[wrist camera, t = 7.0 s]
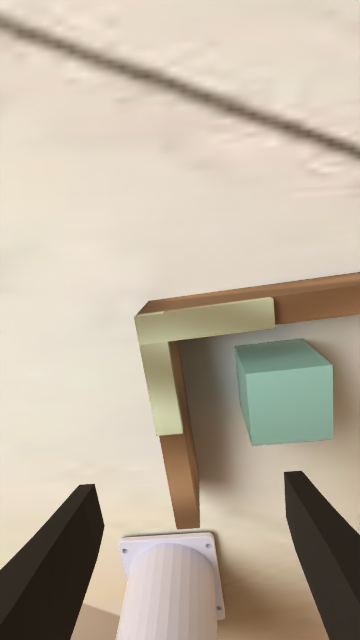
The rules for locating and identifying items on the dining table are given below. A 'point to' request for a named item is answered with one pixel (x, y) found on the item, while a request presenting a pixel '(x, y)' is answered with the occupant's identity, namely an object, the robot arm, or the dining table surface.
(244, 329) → the corner arena
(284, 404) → the teal cube
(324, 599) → the robot arm
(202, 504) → the dining table surface
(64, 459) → the dining table surface
